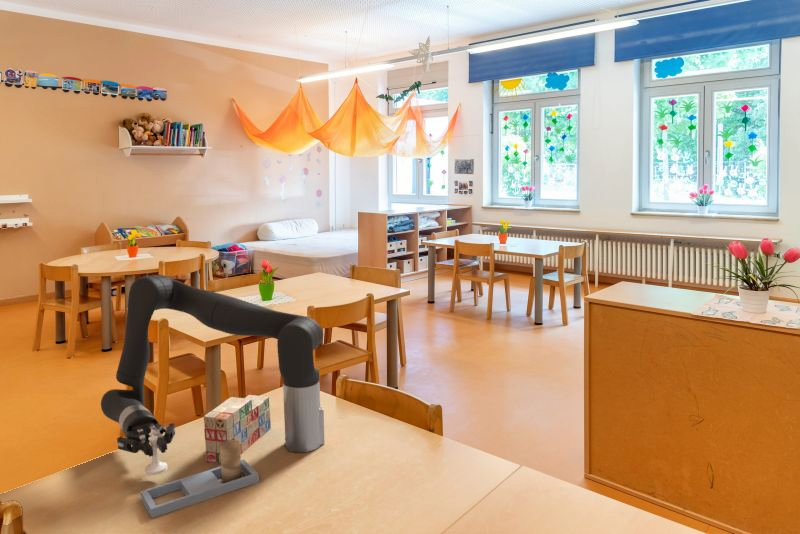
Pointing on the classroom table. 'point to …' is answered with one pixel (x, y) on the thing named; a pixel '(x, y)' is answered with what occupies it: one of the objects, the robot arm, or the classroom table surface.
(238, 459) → the tan brown upright column
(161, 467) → the chess piece
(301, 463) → the classroom table surface
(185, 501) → the blue-grey slotted tray
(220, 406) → the stack of blocks
